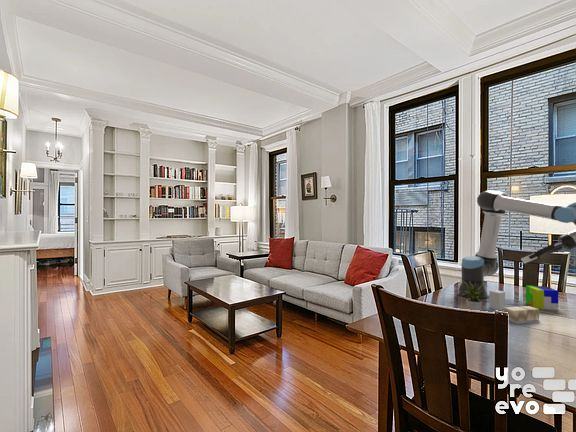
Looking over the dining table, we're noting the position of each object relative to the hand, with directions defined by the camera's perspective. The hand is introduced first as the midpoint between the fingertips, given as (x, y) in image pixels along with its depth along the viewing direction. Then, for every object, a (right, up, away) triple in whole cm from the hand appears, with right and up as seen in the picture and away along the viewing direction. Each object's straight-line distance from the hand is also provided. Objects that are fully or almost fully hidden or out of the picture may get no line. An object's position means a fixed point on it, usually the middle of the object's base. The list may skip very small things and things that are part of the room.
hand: (522, 261), depth 161 cm
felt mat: (-13, -26, -16) cm, 33 cm away
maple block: (-5, -23, -14) cm, 27 cm away
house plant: (-30, -26, -4) cm, 39 cm away
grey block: (-12, -25, +2) cm, 28 cm away
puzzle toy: (+14, -26, +5) cm, 29 cm away
